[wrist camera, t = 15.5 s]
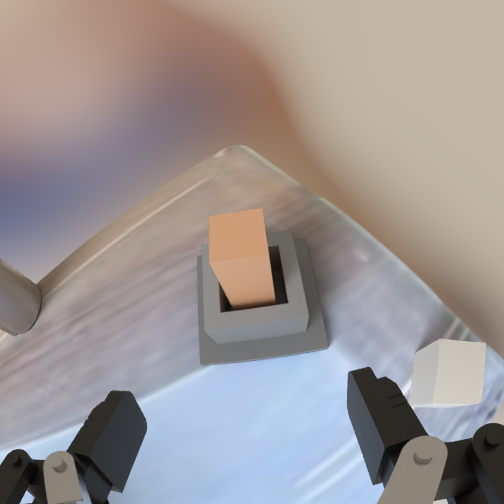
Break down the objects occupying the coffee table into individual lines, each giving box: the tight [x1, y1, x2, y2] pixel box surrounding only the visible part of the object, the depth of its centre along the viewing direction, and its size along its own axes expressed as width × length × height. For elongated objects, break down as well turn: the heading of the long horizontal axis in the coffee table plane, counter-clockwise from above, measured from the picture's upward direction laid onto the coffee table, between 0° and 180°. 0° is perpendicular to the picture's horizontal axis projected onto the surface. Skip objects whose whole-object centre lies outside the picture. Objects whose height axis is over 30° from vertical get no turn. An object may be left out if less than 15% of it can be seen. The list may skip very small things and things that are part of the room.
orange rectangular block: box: [209, 208, 276, 311], centre depth 25 cm, size 4×4×12 cm
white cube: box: [408, 339, 486, 407], centre depth 20 cm, size 6×6×6 cm
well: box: [197, 231, 329, 366], centre depth 28 cm, size 13×13×6 cm
